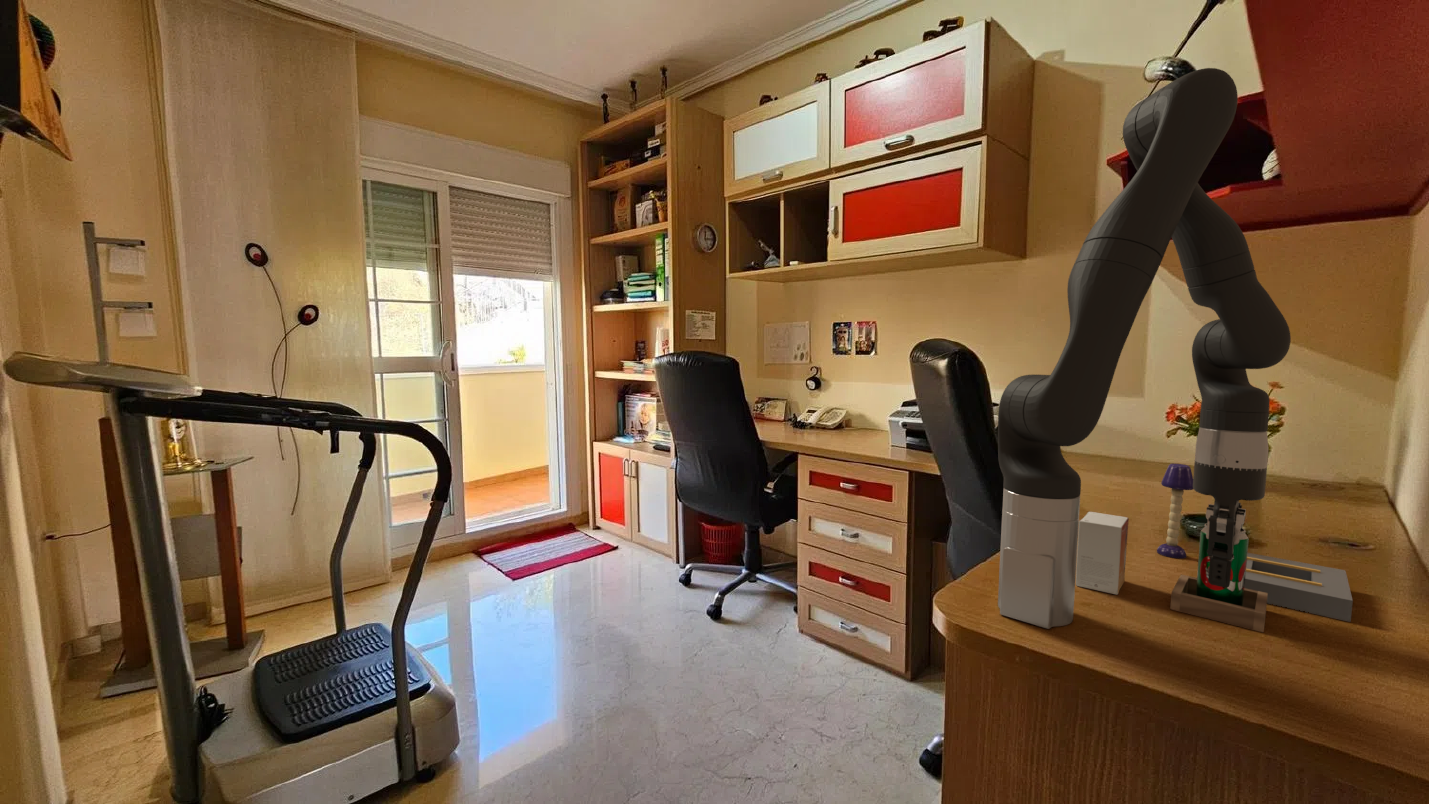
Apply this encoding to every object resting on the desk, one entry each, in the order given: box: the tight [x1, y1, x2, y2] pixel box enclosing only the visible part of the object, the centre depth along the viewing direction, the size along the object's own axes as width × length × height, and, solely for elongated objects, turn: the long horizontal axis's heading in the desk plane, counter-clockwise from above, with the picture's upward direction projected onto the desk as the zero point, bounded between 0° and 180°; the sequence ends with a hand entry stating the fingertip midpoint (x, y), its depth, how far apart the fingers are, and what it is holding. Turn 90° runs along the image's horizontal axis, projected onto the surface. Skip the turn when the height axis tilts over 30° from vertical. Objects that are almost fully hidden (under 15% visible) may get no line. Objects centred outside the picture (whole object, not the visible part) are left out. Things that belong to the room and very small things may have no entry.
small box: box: [1075, 511, 1130, 596], centre depth 90 cm, size 8×6×10 cm
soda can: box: [1196, 522, 1249, 606], centre depth 81 cm, size 5×5×12 cm
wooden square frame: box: [1170, 574, 1268, 633], centre depth 81 cm, size 10×10×2 cm
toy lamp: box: [1156, 463, 1194, 559], centre depth 103 cm, size 5×5×17 cm
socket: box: [1245, 552, 1354, 623], centre depth 88 cm, size 16×14×3 cm
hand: (1220, 579), depth 81 cm, fingers closed on soda can, 5 cm apart
